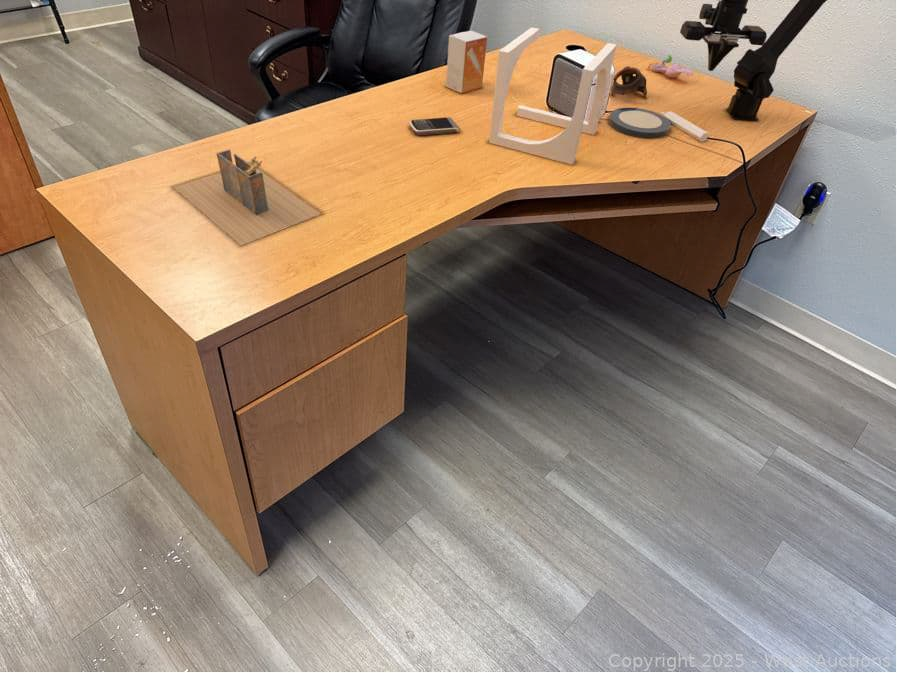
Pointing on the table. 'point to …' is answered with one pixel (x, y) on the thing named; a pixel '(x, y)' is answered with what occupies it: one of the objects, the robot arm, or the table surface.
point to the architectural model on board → (245, 200)
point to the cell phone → (434, 126)
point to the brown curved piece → (629, 82)
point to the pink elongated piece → (670, 68)
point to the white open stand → (568, 139)
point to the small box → (466, 61)
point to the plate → (639, 122)
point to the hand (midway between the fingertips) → (710, 70)
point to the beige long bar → (686, 126)
